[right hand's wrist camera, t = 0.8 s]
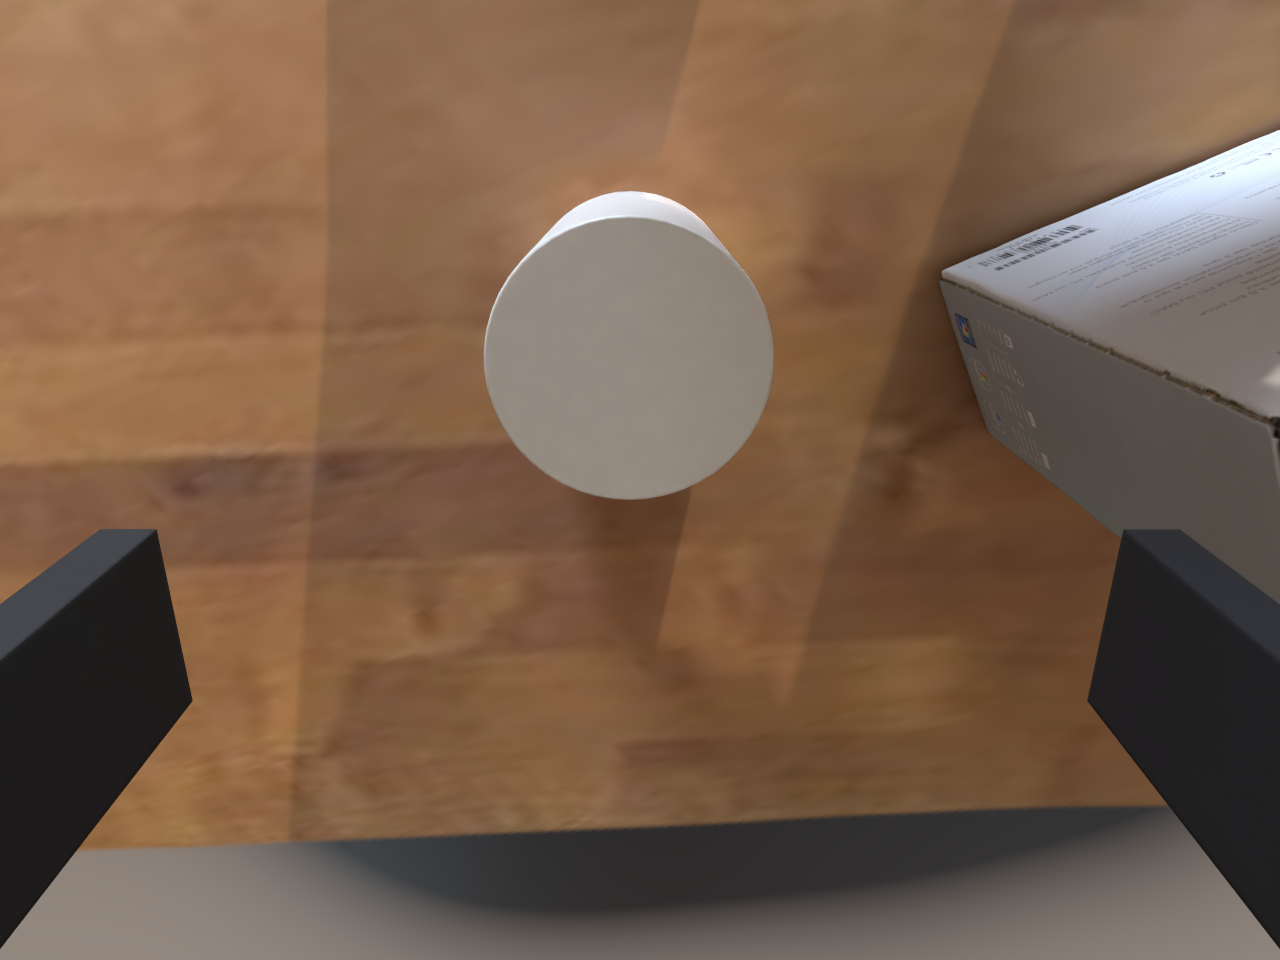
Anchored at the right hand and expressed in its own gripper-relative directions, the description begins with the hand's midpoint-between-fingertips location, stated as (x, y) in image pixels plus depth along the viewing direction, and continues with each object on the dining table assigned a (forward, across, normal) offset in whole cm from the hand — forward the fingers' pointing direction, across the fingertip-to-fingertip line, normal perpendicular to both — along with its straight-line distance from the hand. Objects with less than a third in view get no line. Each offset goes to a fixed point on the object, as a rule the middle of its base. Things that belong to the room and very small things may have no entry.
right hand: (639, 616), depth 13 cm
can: (+25, 0, 0) cm, 25 cm away
